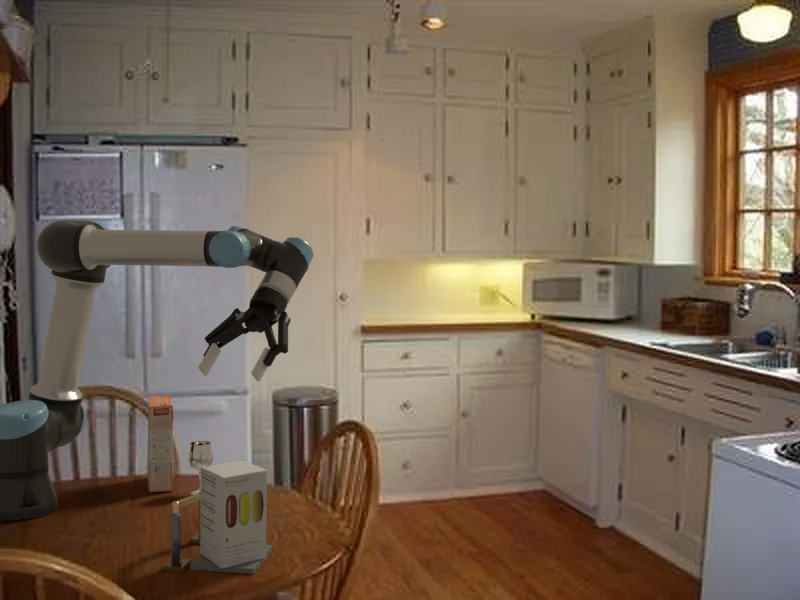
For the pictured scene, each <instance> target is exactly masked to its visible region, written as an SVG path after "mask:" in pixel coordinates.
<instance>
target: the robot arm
mask: <svg viewBox="0 0 800 600" xmlns="http://www.w3.org/2000/svg"><path fill="white" fill-rule="evenodd" d="M36 251H37V254H38V257H39V258H40V261H41V262H42V263H43V264H44V265H45V266H46V267H47V268H48V269H50V270H51V273H50V274H51V277H52V278H53V280H54V281H55V282H56V285H55V289H54V296H53V301H52V308H51V312H50V318H49V321H48V322H49V323H48V329H47V333H46V335H47V336H46V339H45V347H44V351H43V357H42V362H41V367H40V372H39V379H38V382H37V383H36V384H34V385H33V386H31V387H30V388H29V394H28V398H27V399H22V400H15V401H13V402H7V403H4V404H1V405H0V520H18V519H26V518H32V519H36V518H35V517H37V518H40V517H44V516H46V515H49V514H51V513H53V512H55V510H57V509H58V507H59V506H58V504H59V503H58V502H59V500H58V499H59V498H58V494H57V493H56V490H55V486H54V484H53V482H52V478H51V476H50V472H49V468H50V467H49V453H50V452H52V451H54V450H56V449H58V448H60V447H64V446H66V445H68V444H69V443H71V442H72V441H73V440H75V439H76V438H77V437H78V436H79V435H80V434H81V433H82V431H83V429H84V428H85V425H86V419H87V412H86V409H85V407H84V405H83V403H82V401H83V395H84V394H83V393H82V392H81V391H80V389H79V388H78V386H79V381H80V375H81V370H82V364H83V359H84V354H85V347H86V343H87V338H88V332H89V327H90V321H91V317H92V310H93V305H94V299H95V295H96V290H97V289H98V288H99V287H101V286H102V285H104V283H105V279H106V273H107V269H109V268H110V267H111V266H146V267H147V266H154V267H156V266H158V267H159V266H160V267H161V266H162V267H163V266H165V267H213V268H214V267H217V268H218V267H221V268H226V269H227V268H228V269H231V268H233V269H234V268H238V267H245V266H247V267H250V268H253V269H256V270H259V271H261V272H264V273H265V274H264V276H263V278H262V279H261V281H260V283H259V284H258V286H257V288H256V290H255V291H254V293H253V295H252V297H251V298H250V300H249V305H248V306H249V307H248V308H247V310H245V311H241V310H240V308H238V307H236V308H234V309H233V311H232V313H230V315H229V316H228V317H226V318H225V319H224V320H223V321H222V322H221V323H220V324H218V325H217V326H216V327H215V328H214V329H213V330H212V331H211V332H209V333H208V334H207V335H206V336H205V337H204V340H205V343H207V345H208V346H207V348H206V350H205V351H204V353H203V358H202V359H201V361H200V364H199V365H198V367H197V368H198V369H199V371H200V372H201V373H202V374H203V376H205V377H206V376H208V375H209V373H210V371H211V370H212V368H213V366H214V365H215V363H216V361H217V360H218V357H219V356H220V354H221V352H222V350H221V348H223V347H225V346H226V345H228V344H229V343H231V342H233V341H234V340H237V338H239V337H240V336H242V335H246V334H248V333H258V334H259V333H261V334H262V333H263V332H264V335H265V337H266V342H267V344H268V345H267V346H268V347H264V349H263V350H262V353H260V356H259V358H258V360H257V361H256V363H255V365H254V367H253V368H252V371H250V373H251V375H252V376H253V377H254V379H255V380H256V381H257V382H261V380H262V378H263V377H264V375H265V373H266V371H267V369H268V367H271V366H272V365H273V363H274V360H275V359H276V358H277V356H278V355H280V354H281V353H282V354H285V355H286V354H287V353H288V352H289V326H290V323H291V318H290V316H289V315H288V312H287V311H286V309H287V307H288V304H289V303H290V301H291V299H292V298H293V295H294V294H295V292H296V290H297V289H298V286H299V285H300V283H301V281H302V280H303V278H304V276H305V274H306V272H307V271H308V270H309V267H310V265H311V262H312V260H313V258H314V250H313V248H312V246H311V244H309V243H308V242H307V241H306V240H304V239H303V238H300V237H294V236H290V237H288V238H286V239H285V240H284V241H283V242H282V241H281V242H280V241H277V240H274V239H272V238H270V237H269V238H268V237H267V236H265V235H262V234H260V233H257V232H255V231H252V230H250V229H249V228H245V227H241V226H239V225H232V226H230V228H229V229H227V230H212V231H211V230H173V229H172V230H170V229H169V230H165V229H162V230H161V229H160V230H159V229H157V230H155V229H153V230H152V229H109V228H108V227H106V225H104V224H101V223H99V222H96V221H93V220H86V219H85V220H68V219H63V220H62V219H61V220H56V221H53V222H51V223H48V224H47V225H46V226H45V227H44V228H43V229H42V230H41V232H40V233H39V235H38V237H37V240H36ZM243 324H244V325H243ZM275 324H277V340H276V336H275V335H274V330H273V326H274V325H275ZM244 326H245V327H244ZM26 520H27V519H26ZM18 521H19V520H18Z"/></svg>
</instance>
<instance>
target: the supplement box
mask: <svg viewBox="0 0 800 600" xmlns="http://www.w3.org/2000/svg"><path fill="white" fill-rule="evenodd" d="M267 472H268V471H267V469H265V468H262V467H261V466H257V465H256V464H253V463H251V462H249V461H247V460H239V461H234V462H233V461H231V462H227V463H220V464H215V465H210V466H207V467H201V513H200V544H199V546H200V547H199V548H200V550H199V551H200V552H199V555H200V554H201V555H202V556H204V557H205V558H207V559H208V560H210V561H212V562H213V563H214V564H216V565H217V566H219V567H220V568H222V569H223V568H227V567H231V566H235V565H239V564H243V563H247V562H251V561H255V560H259V559H263V558H266V545H267V508H268V506H267V505H268V504H267V502H268V501H267V496H268V495H267V494H268V492H267V490H268V488H267V487H268V484H267V483H268V482H267V480H268V473H267ZM266 559H267V558H266Z"/></svg>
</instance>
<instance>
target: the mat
mask: <svg viewBox="0 0 800 600" xmlns="http://www.w3.org/2000/svg"><path fill="white" fill-rule="evenodd" d="M272 551H273V544H266V558H263V559H259V560H255V561H251V562H247V563H243V564H239V565H235V566H231V567H227V568H223V569H222V568H220V567H219V566H217V565H216V564H214V563H213V562H212V561H210V560H208V559H207V558H205V557H204V556H202V555H201V554H200V553H199V555H198V556H197V557H196V558H195V559H194V560H193V561H191V564H190V565H189V571H197V570H198V571H199V572H213V571H216V573H228V572H238V573H237V574H243V573H248V574H247V575H255V573H256V572H257V571H258V570H257V569H260V567H261V566H262V565H263V563H264V562H263V561H266V559H267V558H268V557H269V555H270V554H271V553H272ZM260 565H261V566H260ZM200 570H201V571H200ZM202 570H203V571H202ZM205 570H206V571H205ZM256 570H257V571H256ZM198 571H197V572H198ZM220 571H221V572H220ZM249 573H250V574H249Z"/></svg>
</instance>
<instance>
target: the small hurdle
mask: <svg viewBox="0 0 800 600" xmlns="http://www.w3.org/2000/svg"><path fill="white" fill-rule="evenodd" d="M196 502H198V513H199V514H198V532H197V533H195V534H194V535H193V536H192V537H191V538H190V544H194V545H195V544H196V545H198V544H199V545H200V513H201V491H200V492H199V493H198V494H196V495H189V496H187V497H185V498H181V499H178V500H175V501H172V503H171V505H170V507H171V509H172V514H171V515H170V535H171V536H170V543H171V544H170V545H171V547H170V554H171V555H170V558H169V559H167V561H165V562H164V563H163V564H162V565H161V571H166V572H167V571H168V572H180V573H183V572H184V571H185V570H186V569H187V568H188V567H190V564H191V563H192V559H191V558H182V514H181V512H180V511H179V509H180V508H182V507H185V506H188V505H190V504H192V503H193V504H194V503H196Z"/></svg>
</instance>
